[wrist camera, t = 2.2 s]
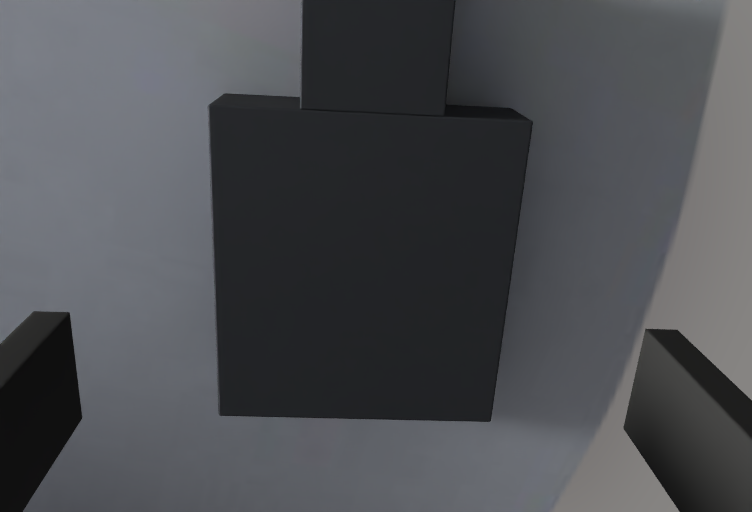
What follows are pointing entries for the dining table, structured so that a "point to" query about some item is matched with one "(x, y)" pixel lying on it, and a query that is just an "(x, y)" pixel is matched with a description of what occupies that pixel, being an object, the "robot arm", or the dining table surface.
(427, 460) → the dining table surface
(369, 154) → the pad
